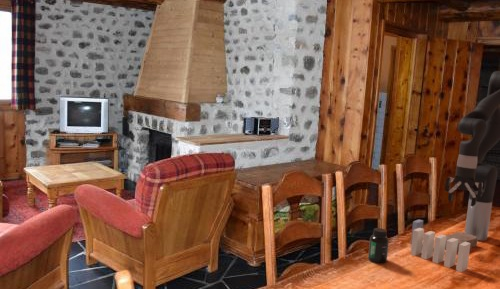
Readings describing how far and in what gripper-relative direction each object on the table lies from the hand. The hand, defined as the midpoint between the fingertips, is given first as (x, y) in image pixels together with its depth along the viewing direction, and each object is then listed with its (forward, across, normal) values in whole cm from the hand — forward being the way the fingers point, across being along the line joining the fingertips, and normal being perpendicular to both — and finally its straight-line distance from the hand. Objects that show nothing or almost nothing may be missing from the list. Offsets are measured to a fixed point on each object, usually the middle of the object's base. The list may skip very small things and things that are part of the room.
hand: (461, 203), depth 190 cm
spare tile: (+18, +13, +12) cm, 25 cm away
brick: (+18, -1, +2) cm, 19 cm away
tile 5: (+19, -4, +25) cm, 32 cm away
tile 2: (+19, +9, +23) cm, 31 cm away
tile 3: (+19, +4, +24) cm, 31 cm away
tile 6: (+19, -9, +26) cm, 33 cm away
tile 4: (+19, 0, +24) cm, 31 cm away
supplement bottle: (+20, +17, +41) cm, 49 cm away
